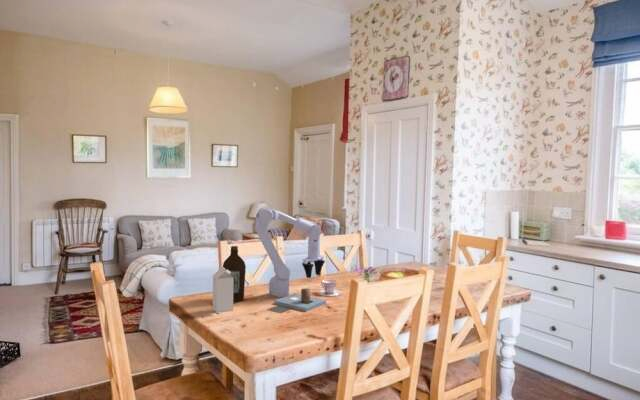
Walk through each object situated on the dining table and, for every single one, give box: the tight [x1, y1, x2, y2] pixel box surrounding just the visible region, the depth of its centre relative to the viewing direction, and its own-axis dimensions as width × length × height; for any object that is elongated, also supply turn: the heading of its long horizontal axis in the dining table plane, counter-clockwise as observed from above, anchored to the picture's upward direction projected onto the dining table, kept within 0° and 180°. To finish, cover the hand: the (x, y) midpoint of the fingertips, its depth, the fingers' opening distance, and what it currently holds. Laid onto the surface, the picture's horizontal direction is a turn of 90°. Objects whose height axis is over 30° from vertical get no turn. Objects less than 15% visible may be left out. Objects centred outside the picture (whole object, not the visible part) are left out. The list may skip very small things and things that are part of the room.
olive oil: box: [222, 245, 247, 303], centre depth 205 cm, size 11×11×25 cm
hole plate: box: [273, 293, 327, 313], centre depth 198 cm, size 18×15×3 cm
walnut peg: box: [300, 287, 311, 304], centre depth 196 cm, size 4×4×8 cm
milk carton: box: [212, 265, 234, 315], centre depth 187 cm, size 7×7×19 cm
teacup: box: [316, 278, 342, 297], centre depth 220 cm, size 12×12×6 cm
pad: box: [266, 305, 292, 314], centre depth 189 cm, size 8×8×1 cm
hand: (313, 276), depth 216 cm, fingers open, 7 cm apart
